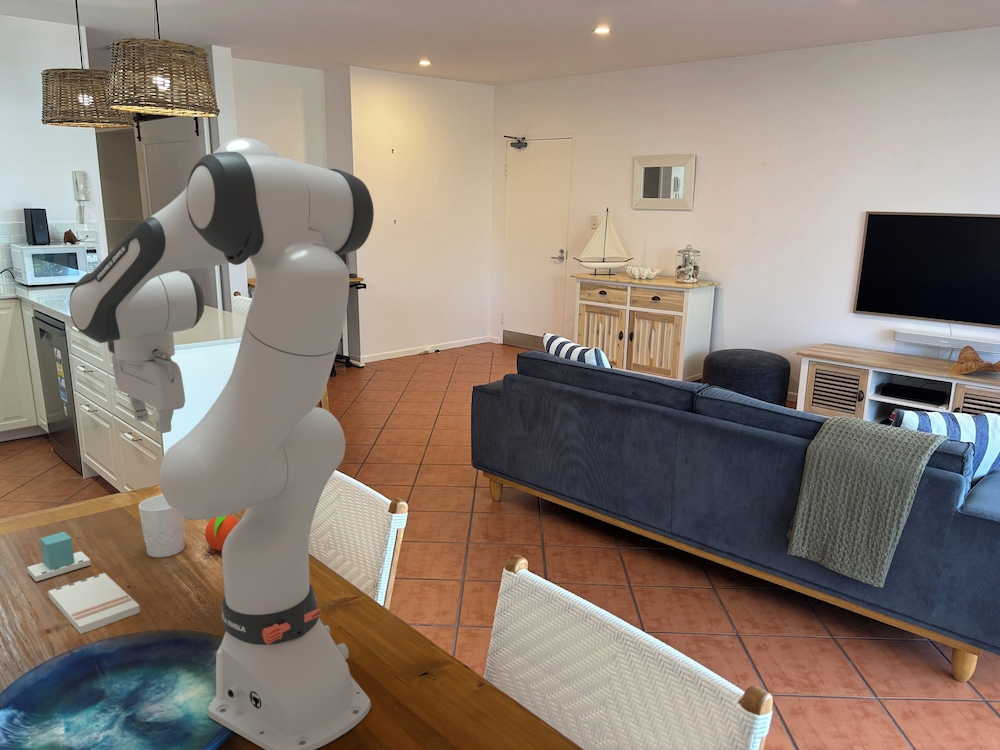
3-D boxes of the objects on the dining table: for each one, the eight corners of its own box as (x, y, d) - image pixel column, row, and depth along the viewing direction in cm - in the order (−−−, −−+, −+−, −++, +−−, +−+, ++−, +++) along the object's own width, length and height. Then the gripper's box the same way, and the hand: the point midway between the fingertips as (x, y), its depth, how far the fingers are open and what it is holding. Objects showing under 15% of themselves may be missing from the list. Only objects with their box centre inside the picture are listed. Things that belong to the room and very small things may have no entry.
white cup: (195, 542, 147) (191, 495, 145) (174, 560, 140) (169, 511, 137) (157, 540, 148) (153, 493, 146) (135, 558, 140) (129, 509, 138)
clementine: (234, 559, 140) (232, 524, 139) (198, 559, 140) (195, 524, 139) (248, 541, 148) (246, 508, 146) (214, 540, 148) (211, 507, 146)
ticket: (140, 612, 122) (139, 604, 121) (80, 634, 115) (79, 626, 115) (105, 579, 132) (104, 572, 132) (49, 597, 126) (48, 590, 125)
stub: (90, 564, 137) (87, 534, 136) (36, 581, 131) (31, 550, 129) (81, 555, 140) (78, 526, 139) (27, 572, 134) (23, 541, 133)
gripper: (191, 352, 117) (198, 435, 120) (140, 336, 131) (148, 411, 134) (151, 357, 113) (159, 443, 116) (103, 340, 127) (111, 417, 130)
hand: (152, 425), depth 125 cm, fingers open, 8 cm apart
